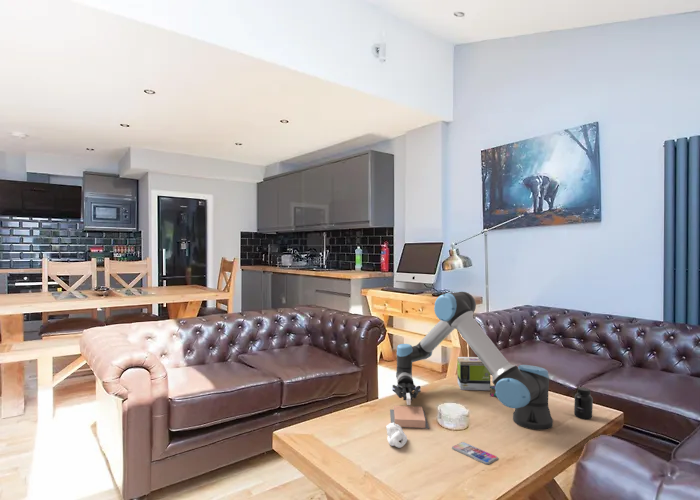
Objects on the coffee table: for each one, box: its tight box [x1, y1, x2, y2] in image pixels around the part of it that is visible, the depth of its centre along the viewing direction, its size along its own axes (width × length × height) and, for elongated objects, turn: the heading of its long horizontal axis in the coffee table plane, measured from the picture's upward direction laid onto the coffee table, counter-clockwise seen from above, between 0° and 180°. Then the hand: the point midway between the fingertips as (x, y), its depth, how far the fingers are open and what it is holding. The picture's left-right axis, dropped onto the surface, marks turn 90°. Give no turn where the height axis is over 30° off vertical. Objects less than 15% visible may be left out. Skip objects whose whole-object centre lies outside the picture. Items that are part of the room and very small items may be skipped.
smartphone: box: [451, 441, 499, 466], centre depth 149 cm, size 7×1×15 cm
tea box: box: [456, 356, 491, 392], centre depth 217 cm, size 15×10×15 cm, turn 84°
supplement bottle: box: [573, 386, 594, 421], centre depth 181 cm, size 7×7×12 cm
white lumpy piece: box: [385, 422, 408, 449], centre depth 157 cm, size 9×12×8 cm
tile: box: [393, 405, 426, 429], centre depth 175 cm, size 3×12×14 cm
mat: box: [389, 408, 430, 430], centre depth 177 cm, size 18×15×1 cm
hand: (408, 401), depth 176 cm, fingers closed
